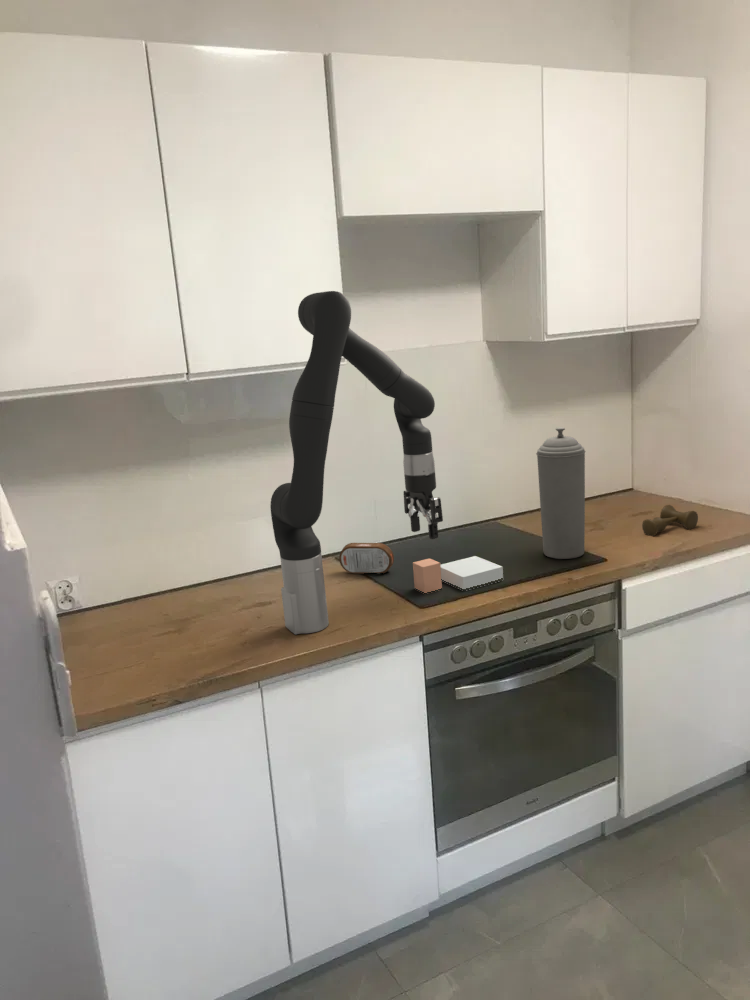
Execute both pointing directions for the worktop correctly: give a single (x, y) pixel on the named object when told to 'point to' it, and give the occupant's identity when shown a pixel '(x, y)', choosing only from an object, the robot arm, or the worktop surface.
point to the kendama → (669, 520)
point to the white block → (470, 572)
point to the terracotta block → (427, 575)
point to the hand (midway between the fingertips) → (424, 534)
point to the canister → (562, 496)
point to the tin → (366, 558)
